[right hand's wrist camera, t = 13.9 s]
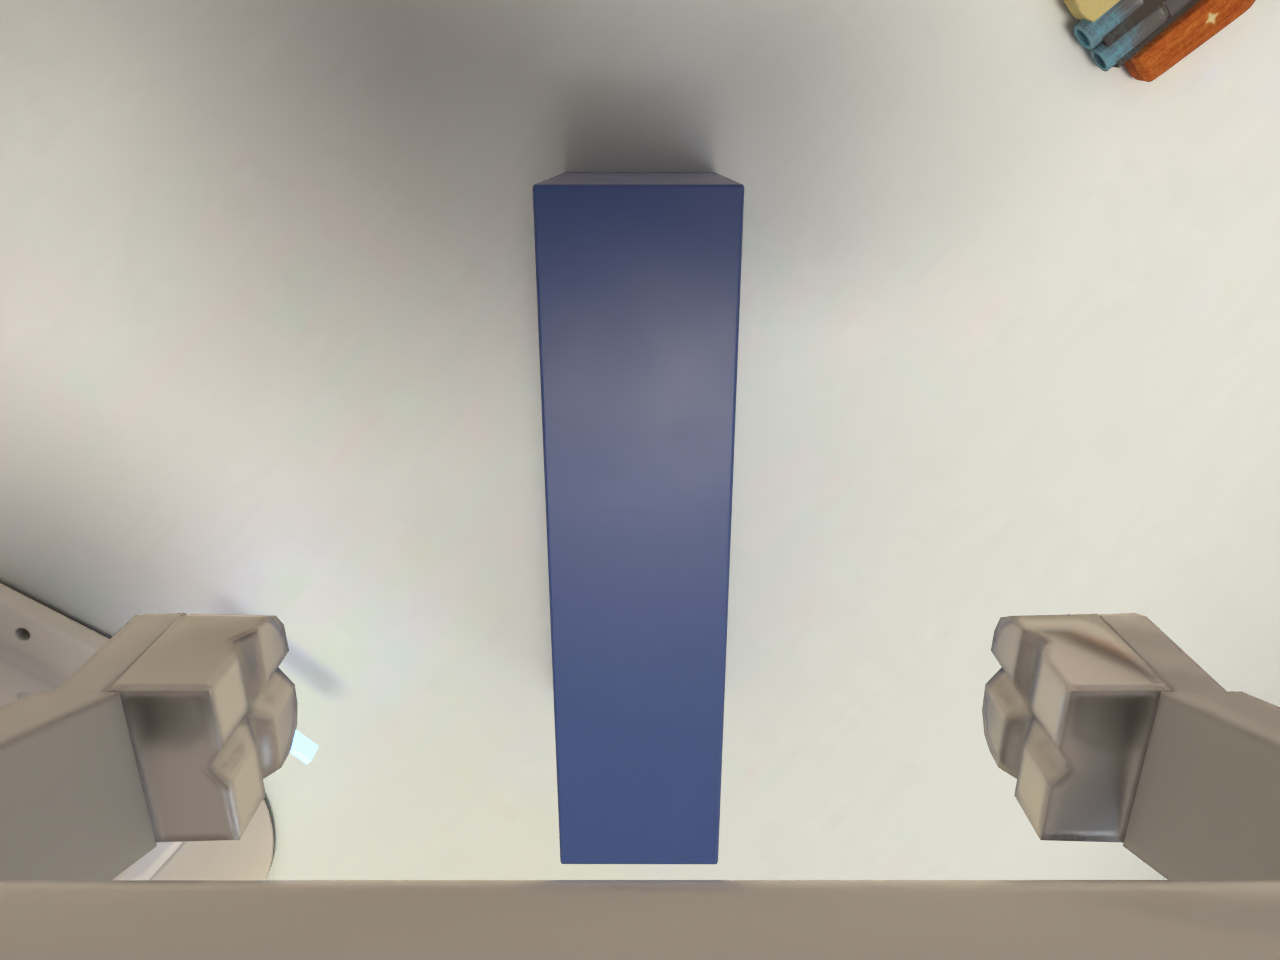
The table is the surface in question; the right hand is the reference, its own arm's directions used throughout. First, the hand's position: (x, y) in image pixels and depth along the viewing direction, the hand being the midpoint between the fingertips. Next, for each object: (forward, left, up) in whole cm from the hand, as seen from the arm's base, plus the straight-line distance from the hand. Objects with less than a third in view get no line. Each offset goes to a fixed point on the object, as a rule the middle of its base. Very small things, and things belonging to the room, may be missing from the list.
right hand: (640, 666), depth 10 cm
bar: (+5, -5, -25) cm, 26 cm away
